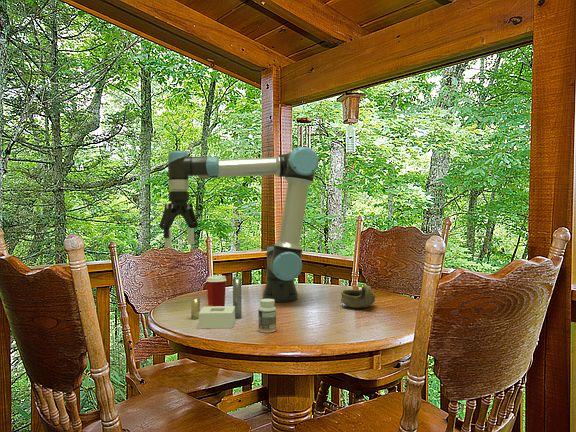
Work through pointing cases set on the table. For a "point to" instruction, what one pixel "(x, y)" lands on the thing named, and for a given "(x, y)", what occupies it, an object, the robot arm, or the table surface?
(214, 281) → the paper cup
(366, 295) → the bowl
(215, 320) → the hole block
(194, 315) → the short pin
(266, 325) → the pill bottle
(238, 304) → the long pin
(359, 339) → the table surface
